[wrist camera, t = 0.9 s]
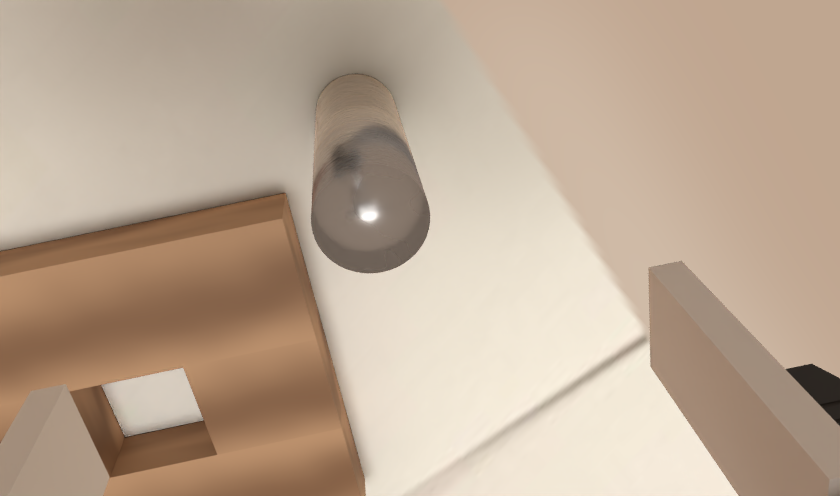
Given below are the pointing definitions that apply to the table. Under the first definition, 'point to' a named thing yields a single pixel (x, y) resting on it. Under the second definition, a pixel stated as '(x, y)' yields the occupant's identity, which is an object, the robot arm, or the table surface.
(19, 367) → the socket board
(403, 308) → the table surface
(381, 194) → the peg
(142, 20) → the table surface
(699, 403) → the robot arm
